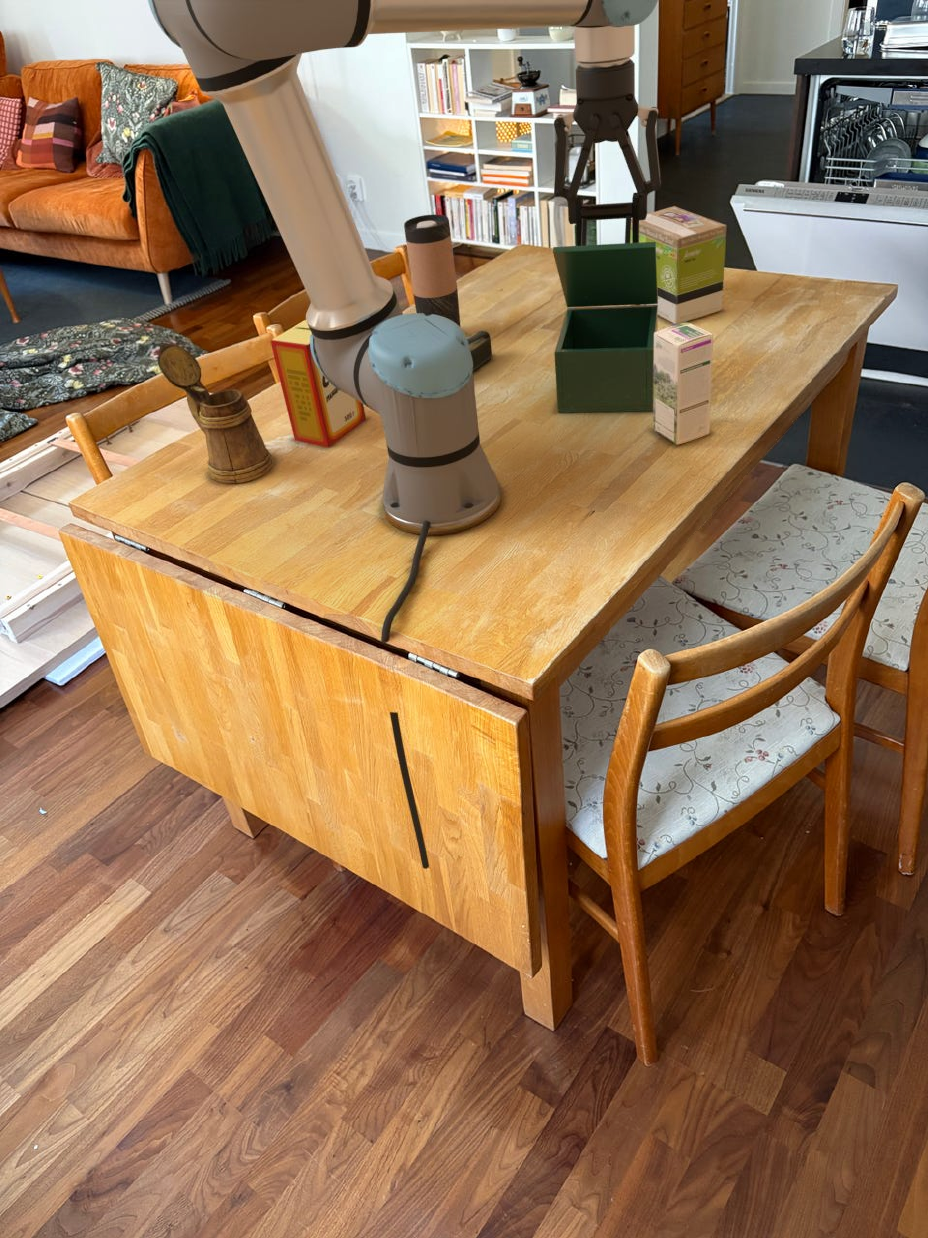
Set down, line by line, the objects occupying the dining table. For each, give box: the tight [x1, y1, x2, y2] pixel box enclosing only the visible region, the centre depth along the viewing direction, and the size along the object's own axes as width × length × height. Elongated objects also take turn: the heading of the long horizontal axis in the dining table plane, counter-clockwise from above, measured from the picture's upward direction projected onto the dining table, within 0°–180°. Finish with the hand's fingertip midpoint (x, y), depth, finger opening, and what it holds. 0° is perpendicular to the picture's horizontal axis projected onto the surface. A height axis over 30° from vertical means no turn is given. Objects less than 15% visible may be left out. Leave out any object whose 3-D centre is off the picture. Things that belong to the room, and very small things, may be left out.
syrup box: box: [653, 321, 714, 446], centre depth 128 cm, size 6×6×14 cm
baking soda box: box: [270, 319, 367, 448], centre depth 140 cm, size 10×6×16 cm
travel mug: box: [403, 214, 462, 328], centre depth 163 cm, size 8×8×20 cm
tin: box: [554, 305, 659, 414], centre depth 143 cm, size 17×14×9 cm
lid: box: [552, 201, 658, 308], centre depth 138 cm, size 18×14×8 cm
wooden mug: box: [157, 342, 274, 484], centre depth 134 cm, size 9×14×18 cm, turn 59°
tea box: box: [630, 205, 727, 325], centre depth 164 cm, size 15×10×15 cm, turn 25°
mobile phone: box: [467, 330, 493, 372], centre depth 155 cm, size 5×3×15 cm
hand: (608, 244), depth 136 cm, fingers closed on lid, 7 cm apart
